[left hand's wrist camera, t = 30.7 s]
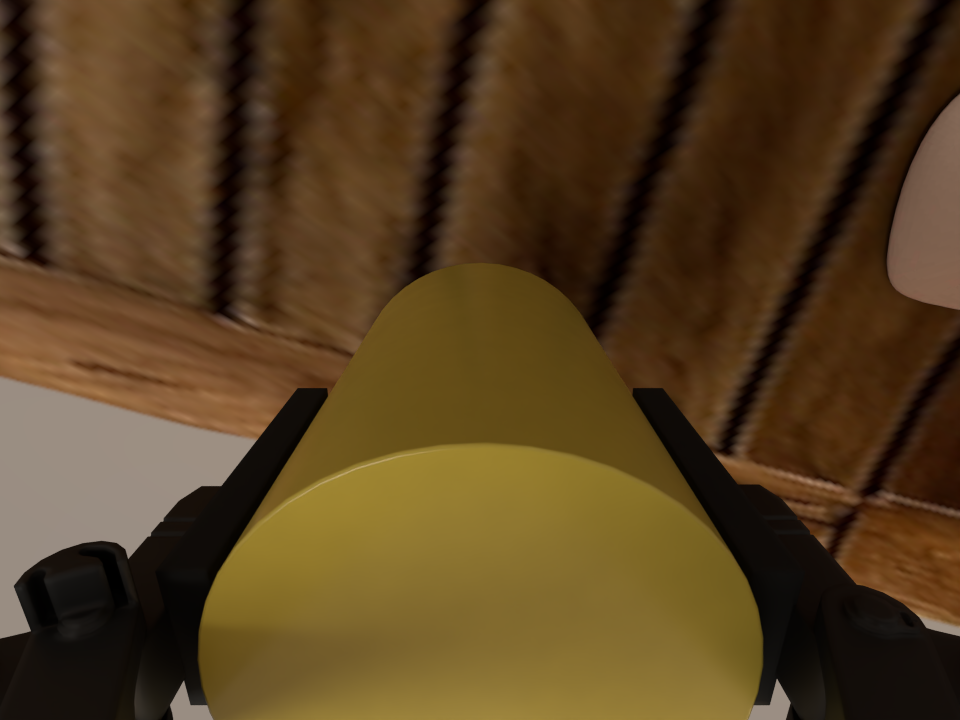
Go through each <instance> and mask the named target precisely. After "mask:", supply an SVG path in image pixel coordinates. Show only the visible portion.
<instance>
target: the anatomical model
mask: <svg viewBox="0 0 960 720" xmlns="http://www.w3.org/2000/svg"><path fill="white" fill-rule="evenodd" d="M887 271H888V276H889V279H890V282H891V284H892V285H893V287H894V288H895V289H896V290H897V291H899V292H900V293H901V294H903V295H905V296H907V297H909V298H912V299H915V300H918V301H921V302H925V303H930V304H934V305H939V306H944V307H948V308H953V309H959V310H960V94H959V95H958V96H956V97H955V98H954V99H953V100H952V101H951V102H950V103H949V104H948V106H947V107H946V108H945V109H944V110H943V111H942V112H941V114H940V115H939V116H938V118H937V119H936V120H935V122H934V123H933V124H932V126H931V127H930V129H929V130H928V132H927V134H926V136H925V137H924V139H923V141H922V142H921V144H920V146H919V149H918V151H917V153H916V155H915V157H914V159H913V161H912V163H911V166H910V168H909V171H908V173H907V176H906V179H905V181H904V184H903V187H902V190H901V194H900V197H899V201H898V204H897V207H896V211H895V215H894V220H893V224H892V228H891V233H890V238H889V245H888V252H887Z"/></svg>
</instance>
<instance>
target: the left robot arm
mask: <svg viewBox="0 0 960 720" xmlns="http://www.w3.org/2000/svg"><path fill="white" fill-rule="evenodd" d="M632 396H633V398H634V399H635V401H636V402H637V404H638V406H639V407H640V409H641V410H642V412H643V414H644V415H645V417H646V418H647V420H648V421H649V423H650V425H651V426H652V428H653V429H654V431H655V433H656V434H657V436H658V437H659V439H660V440H661V442H662V444H663V445H664V447H665V448H666V450H667V452H668V453H669V455H670V456H671V458H672V460H673V461H674V463H675V464H676V466H677V467H678V469H679V471H680V472H681V474H682V475H683V477H684V479H685V480H686V482H687V483H688V485H689V486H690V488H691V490H692V491H693V493H694V494H695V496H696V498H697V499H698V501H699V502H700V504H701V505H702V507H703V509H704V510H705V512H706V513H707V515H708V517H709V518H710V520H711V521H712V523H713V524H714V526H715V528H716V529H717V531H718V532H719V534H720V536H721V537H722V539H723V540H724V542H725V543H726V545H727V547H728V548H729V550H730V551H731V553H732V555H733V556H734V558H735V560H736V561H737V563H738V565H739V566H740V568H741V570H742V571H743V573H744V575H745V577H746V578H747V580H748V583H749V585H750V588H751V591H752V593H753V596H754V599H755V601H756V604H757V606H758V611H759V616H760V622H761V627H762V633H763V669H762V675H761V680H760V686H759V691H758V694H757V697H756V700H755V703H754V705H770V702H771V698H772V694H773V691H774V687H775V683H776V679H778V681H779V683H780V684H781V686H782V688H783V690H784V692H785V693H786V695H787V697H788V698H789V700H790V702H791V704H790V707H789V711H788V714H787V718H786V720H960V636H956V635H952V634H948V633H943V632H939V631H935V630H931V629H928V628H926V627H925V625H924V624H923V622H922V621H921V619H920V618H919V617H918V616H917V615H916V614H915V613H913V612H912V611H911V610H910V609H909V608H908V607H906V606H905V605H904V604H903V603H901V602H899V601H897V600H896V599H894V598H892V597H890V596H888V595H887V594H885V593H883V592H880V591H877V590H874V589H871V588H869V587H866V586H862V585H856V583H855V582H854V581H853V580H852V579H851V578H850V577H849V575H848V574H847V573H846V572H845V571H844V570H843V569H842V567H841V566H840V565H839V564H838V563H837V562H836V561H835V559H834V558H833V557H832V556H831V555H830V554H829V552H828V551H827V550H826V549H825V548H824V547H823V546H822V544H821V543H820V542H819V541H818V540H817V539H816V538H815V536H814V535H810V531H809V530H808V528H807V527H806V526H805V525H804V524H803V523H802V522H801V520H797V516H796V515H795V514H794V512H793V511H792V510H791V509H790V508H789V507H788V506H787V504H786V503H785V502H784V501H783V500H782V499H781V498H779V497H778V496H776V495H774V494H773V493H771V492H770V491H768V490H767V489H765V488H764V487H762V486H761V485H738V484H737V483H736V482H735V480H734V479H733V478H732V477H731V475H730V474H729V473H728V471H727V470H726V469H725V468H724V466H723V465H722V464H721V462H720V461H719V460H718V459H717V457H716V456H715V455H714V454H713V452H712V451H711V450H710V448H709V447H708V446H707V445H706V443H705V442H704V441H703V439H702V438H701V437H700V436H699V434H698V433H697V432H696V430H695V429H694V428H693V427H692V425H691V424H690V423H689V421H688V420H687V419H686V418H685V416H684V415H683V414H682V412H681V411H680V410H679V409H678V407H677V406H676V405H675V403H674V402H673V401H672V400H671V398H670V397H669V396H668V395H667V393H666V392H665V391H664V389H663V388H633V395H632ZM327 397H328V392H327V388H298V389H297V390H296V391H295V392H294V394H293V395H292V396H291V398H290V399H289V400H288V401H287V403H286V404H285V405H284V406H283V408H282V409H281V410H280V412H279V413H278V414H277V415H276V417H275V418H274V419H273V421H272V422H271V423H270V424H269V426H268V427H267V428H266V430H265V431H264V432H263V433H262V435H261V436H260V437H259V439H258V440H257V441H256V442H255V444H254V445H253V446H252V448H251V449H250V450H249V451H248V453H247V454H246V455H245V457H244V458H243V459H242V460H241V462H240V463H239V464H238V466H237V467H236V468H235V469H234V471H233V472H232V473H231V475H230V476H229V477H228V478H227V480H226V481H225V482H224V483H223V485H222V486H201V487H200V488H198V489H197V490H195V491H194V492H192V493H191V494H189V495H187V496H186V497H184V498H183V499H181V500H180V501H179V502H178V503H177V504H176V505H175V506H174V507H173V508H172V509H171V511H170V512H169V513H168V514H167V515H166V516H165V518H164V521H163V522H160V523H159V524H158V526H157V527H156V528H155V529H154V530H153V531H152V532H151V536H150V537H147V538H146V539H145V541H144V542H143V543H142V544H141V545H140V546H139V547H138V549H137V550H136V551H135V552H134V553H133V554H132V556H131V557H130V558H129V559H128V557H127V554H126V550H125V549H124V548H123V547H121V546H120V545H119V544H117V543H113V542H106V541H97V542H89V543H82V544H79V545H76V546H73V547H70V548H66V549H63V550H61V551H59V552H57V553H55V554H53V555H51V556H49V557H47V558H45V559H43V560H41V561H39V562H38V563H37V564H35V565H34V566H33V567H31V568H30V569H29V570H27V571H26V572H25V573H24V574H23V575H22V576H21V578H20V579H19V580H18V581H17V583H16V584H15V585H14V588H15V591H16V593H17V596H18V598H19V601H20V603H21V606H22V609H23V611H24V614H25V616H26V619H27V622H28V624H29V627H30V629H31V631H30V632H27V633H23V634H18V635H14V636H10V637H6V638H1V639H0V720H173V715H172V711H171V708H170V704H171V702H172V700H173V699H174V697H175V695H176V693H177V691H178V690H179V688H180V686H181V684H182V682H183V681H184V682H185V686H186V689H187V693H188V697H189V701H190V704H191V705H207V702H206V699H205V696H204V693H203V690H202V687H201V680H200V673H199V666H198V639H199V627H200V622H201V618H202V614H203V609H204V605H205V601H206V598H207V596H208V594H209V591H210V589H211V587H212V584H213V582H214V580H215V577H216V575H217V573H218V571H219V570H220V568H221V567H222V565H223V563H224V562H225V560H226V559H227V557H228V555H229V554H230V552H231V551H232V549H233V547H234V546H235V544H236V543H237V541H238V539H239V538H240V536H241V535H242V533H243V531H244V530H245V528H246V527H247V525H248V523H249V522H250V520H251V519H252V517H253V515H254V514H255V512H256V511H257V509H258V507H259V506H260V504H261V503H262V501H263V499H264V498H265V496H266V495H267V493H268V492H269V490H270V488H271V487H272V485H273V484H274V482H275V480H276V479H277V477H278V476H279V474H280V472H281V471H282V469H283V468H284V466H285V464H286V463H287V461H288V460H289V458H290V456H291V455H292V453H293V452H294V450H295V448H296V447H297V445H298V444H299V442H300V440H301V439H302V437H303V436H304V434H305V432H306V431H307V429H308V428H309V426H310V424H311V423H312V421H313V420H314V418H315V417H316V415H317V413H318V412H319V410H320V409H321V407H322V405H323V404H324V402H325V401H326V399H327Z"/></svg>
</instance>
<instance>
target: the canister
mask: <svg viewBox="0 0 960 720" xmlns="http://www.w3.org/2000/svg"><path fill="white" fill-rule="evenodd" d="M198 666H199V673H200V680H201V687H202V690H203V693H204V696H205V699H206V702H207V705H208V708H209V711H210V714H211V716H212V718H213V720H748V719H749V716H750V713H751V711H752V708H753V705H754V703H755V700H756V697H757V694H758V691H759V686H760V680H761V675H762V669H763V633H762V627H761V622H760V616H759V611H758V606H757V604H756V601H755V599H754V596H753V593H752V591H751V588H750V585H749V583H748V580H747V578H746V577H745V575H744V573H743V571H742V570H741V568H740V566H739V565H738V563H737V561H736V560H735V558H734V556H733V555H732V553H731V551H730V550H729V548H728V547H727V545H726V543H725V542H724V540H723V539H722V537H721V536H720V534H719V532H718V531H717V529H716V528H715V526H714V524H713V523H712V521H711V520H710V518H709V517H708V515H707V513H706V512H705V510H704V509H703V507H702V505H701V504H700V502H699V501H698V499H697V498H696V496H695V494H694V493H693V491H692V490H691V488H690V486H689V485H688V483H687V482H686V480H685V479H684V477H683V475H682V474H681V472H680V471H679V469H678V467H677V466H676V464H675V463H674V461H673V460H672V458H671V456H670V455H669V453H668V452H667V450H666V448H665V447H664V445H663V444H662V442H661V440H660V439H659V437H658V436H657V434H656V433H655V431H654V429H653V428H652V426H651V425H650V423H649V421H648V420H647V418H646V417H645V415H644V414H643V412H642V410H641V409H640V407H639V406H638V404H637V402H636V401H635V399H634V398H633V396H632V395H631V393H630V391H629V390H628V388H627V387H626V385H625V383H624V382H623V380H622V379H621V377H620V376H619V374H618V372H617V371H616V369H615V368H614V366H613V364H612V363H611V361H610V360H609V358H608V357H607V355H606V353H605V352H604V350H603V349H602V347H601V345H600V344H599V342H598V341H597V339H596V337H595V336H594V334H593V333H592V331H591V330H590V328H589V326H588V325H587V323H586V322H585V320H584V318H583V317H582V315H581V314H580V312H579V311H578V310H577V309H576V307H575V306H574V305H573V304H572V302H571V301H570V300H569V299H568V298H567V297H566V296H564V295H563V294H562V293H561V292H560V291H559V290H558V289H556V288H555V287H554V286H552V285H551V284H549V283H548V282H546V281H545V280H543V279H541V278H539V277H537V276H535V275H533V274H531V273H529V272H526V271H523V270H520V269H518V268H515V267H510V266H505V265H501V264H491V263H468V264H461V265H455V266H450V267H446V268H443V269H440V270H437V271H434V272H432V273H429V274H427V275H425V276H423V277H421V278H419V279H417V280H416V281H414V282H413V283H411V284H410V285H408V286H407V287H405V288H404V289H403V290H402V291H400V292H399V293H398V294H397V295H396V296H395V297H394V298H392V300H391V301H390V302H389V303H388V304H387V305H386V307H385V308H384V309H383V310H382V312H381V313H380V315H379V316H378V318H377V319H376V321H375V322H374V324H373V326H372V327H371V329H370V330H369V332H368V334H367V335H366V337H365V338H364V340H363V342H362V343H361V345H360V346H359V348H358V350H357V351H356V353H355V354H354V356H353V357H352V359H351V361H350V362H349V364H348V365H347V367H346V369H345V370H344V372H343V373H342V375H341V377H340V378H339V380H338V381H337V383H336V385H335V386H334V388H333V389H332V391H331V393H330V394H329V396H328V397H327V399H326V401H325V402H324V404H323V405H322V407H321V409H320V410H319V412H318V413H317V415H316V417H315V418H314V420H313V421H312V423H311V424H310V426H309V428H308V429H307V431H306V432H305V434H304V436H303V437H302V439H301V440H300V442H299V444H298V445H297V447H296V448H295V450H294V452H293V453H292V455H291V456H290V458H289V460H288V461H287V463H286V464H285V466H284V468H283V469H282V471H281V472H280V474H279V476H278V477H277V479H276V480H275V482H274V484H273V485H272V487H271V488H270V490H269V492H268V493H267V495H266V496H265V498H264V499H263V501H262V503H261V504H260V506H259V507H258V509H257V511H256V512H255V514H254V515H253V517H252V519H251V520H250V522H249V523H248V525H247V527H246V528H245V530H244V531H243V533H242V535H241V536H240V538H239V539H238V541H237V543H236V544H235V546H234V547H233V549H232V551H231V552H230V554H229V555H228V557H227V559H226V560H225V562H224V563H223V565H222V567H221V568H220V570H219V571H218V573H217V575H216V577H215V580H214V582H213V584H212V587H211V589H210V591H209V594H208V596H207V598H206V601H205V605H204V609H203V614H202V618H201V622H200V627H199V639H198Z"/></svg>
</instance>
